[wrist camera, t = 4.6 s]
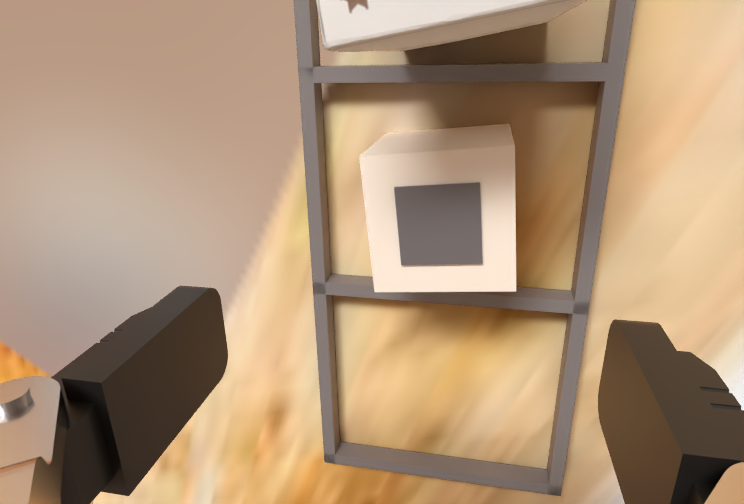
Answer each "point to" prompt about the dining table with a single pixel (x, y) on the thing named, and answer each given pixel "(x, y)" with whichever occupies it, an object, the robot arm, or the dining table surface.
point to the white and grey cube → (442, 210)
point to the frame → (521, 299)
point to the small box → (425, 21)
